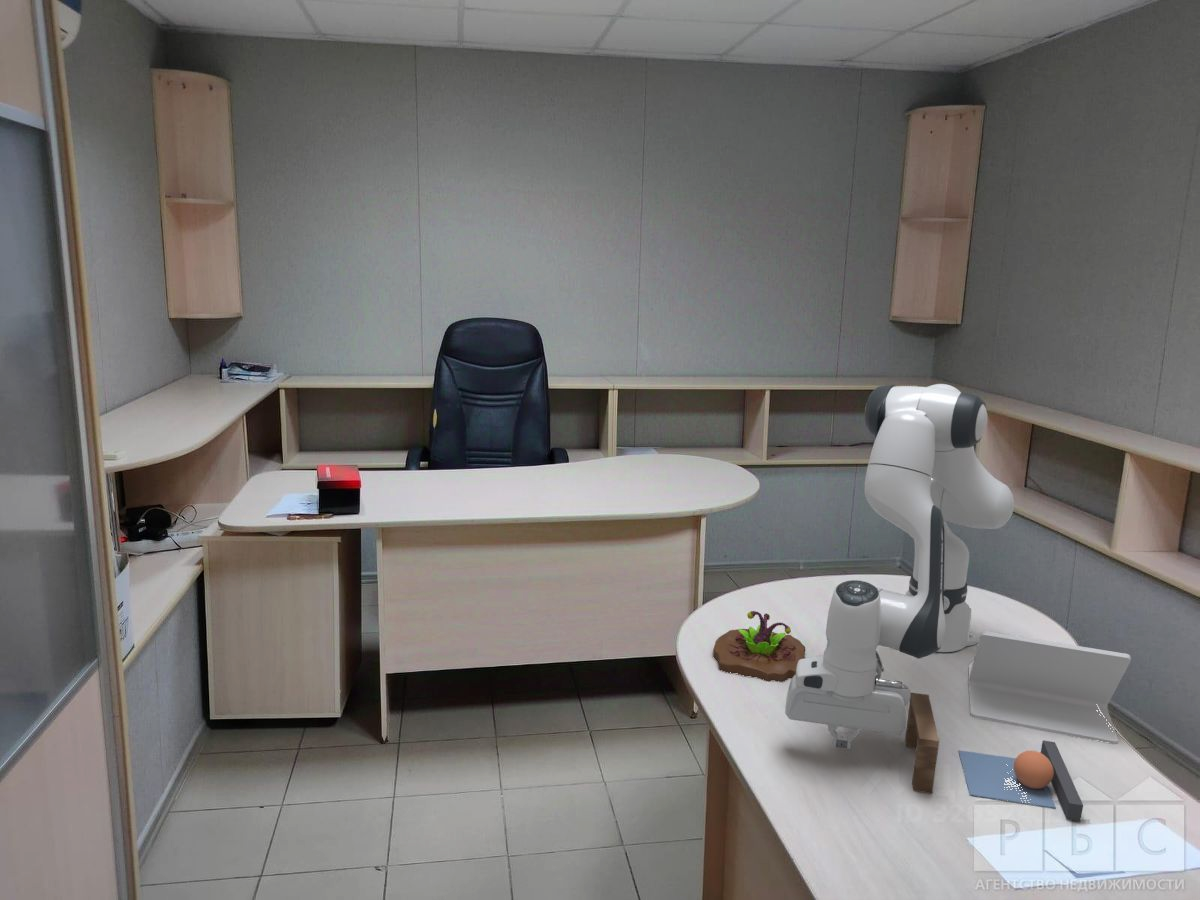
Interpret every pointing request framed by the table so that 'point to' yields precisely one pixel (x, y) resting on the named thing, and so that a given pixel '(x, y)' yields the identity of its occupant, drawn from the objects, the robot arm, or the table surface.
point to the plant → (759, 651)
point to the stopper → (1063, 783)
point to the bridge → (922, 741)
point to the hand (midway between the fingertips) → (841, 746)
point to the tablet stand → (1045, 685)
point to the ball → (1033, 769)
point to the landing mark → (999, 780)
